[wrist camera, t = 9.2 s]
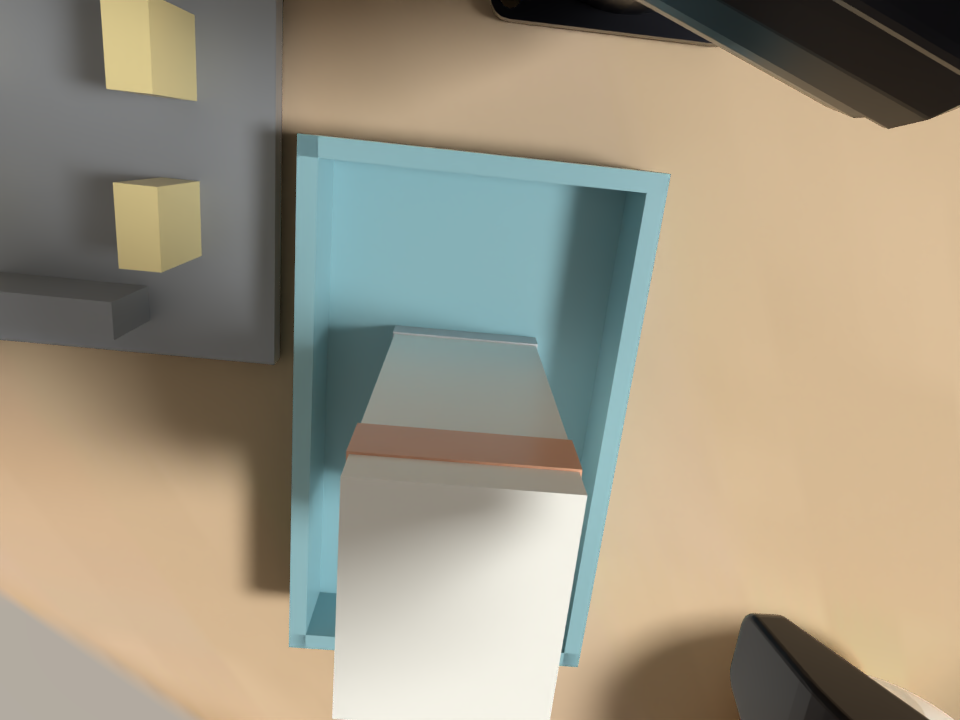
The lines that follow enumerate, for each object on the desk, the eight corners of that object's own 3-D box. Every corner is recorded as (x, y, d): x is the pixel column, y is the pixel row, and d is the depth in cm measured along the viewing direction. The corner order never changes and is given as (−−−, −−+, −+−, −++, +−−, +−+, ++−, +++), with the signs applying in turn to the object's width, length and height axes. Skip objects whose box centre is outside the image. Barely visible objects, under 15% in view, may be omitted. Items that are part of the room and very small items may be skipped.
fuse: (535, 337, 19) (590, 492, 11) (515, 490, 21) (550, 733, 12) (395, 325, 19) (337, 474, 10) (386, 480, 20) (329, 720, 12)
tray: (645, 170, 18) (670, 174, 16) (566, 614, 23) (577, 667, 20) (318, 134, 18) (296, 133, 15) (307, 595, 22) (289, 647, 20)
